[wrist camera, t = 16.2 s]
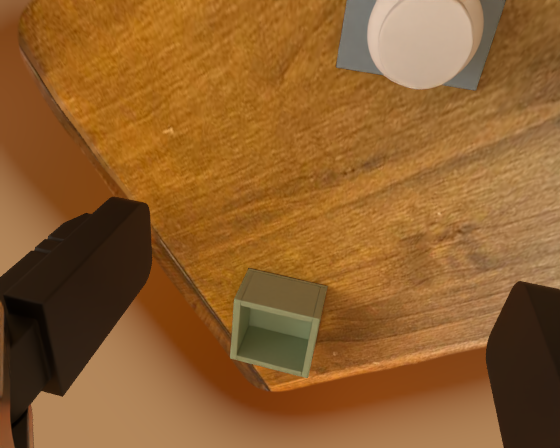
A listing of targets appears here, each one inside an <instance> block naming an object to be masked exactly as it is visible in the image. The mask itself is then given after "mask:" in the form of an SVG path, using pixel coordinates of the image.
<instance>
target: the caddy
mask: <svg viewBox="0 0 560 448" xmlns="http://www.w3.org/2000/svg"><path fill="white" fill-rule="evenodd" d="M327 287H328V286H325V285H320V284H316V283H311V282H307V281H303V280H298V279H294V278H290V277H285V276H281V275H277V274H272V273H268V272H263V271H259V270H255V269H250V268H248V271H247V273H246V275H245V277H244V279H243V281H242V284H241V286H240V288H239V290H238V292H237V294H236V296H235V298H234V309H233V324H232V338H231V352H230V358H231V359H235V360H236V359H237V360H238V361H242V362H246V363H250V364H254V365H258V366H262V367H266V368H270V369H274V370H277V371H281V372H285V373H289V374H293V375H297V376H302V377H305V378H308V376H309V371H310V367H311V362H312V358H313V353H314V349H315V344H316V340H317V335H318V330H319V325H320V321H321V316H322V311H323V306H324V301H325V297H326V292H327Z"/></svg>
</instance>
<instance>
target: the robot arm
mask: <svg viewBox="0 0 560 448" xmlns="http://www.w3.org/2000/svg"><path fill="white" fill-rule="evenodd" d="M151 264H152V246H151V226H150V211H149V207H148V205H147V204H146V203H143V202H138V201H134V200H129V199H124V198H119V197H111V198H109V199H108V200H107V201H106V202H105V203H104V204H103V205H102V206H100V207H99V208H98V209H97V210H96V211H95V212H94V213H93V214H88V213H85V214H83V215H81V216H78V217H76V218H74V219H72V220H69V221H67V222H65V223H63V224H62V225H61V226H60V227H59V228H58V229H56V230H55V231H54V232H53V233H51V234H50V235H49V236H48V239H45V240H43V241H42V242H41V243H40V244H39V245H38V246H37V247H35V250H34V251H30V252H29V253H28V254H27V255H26V256H25V257H23V258H22V259H21V260H20V261H19V262H18V263H16V264H15V265H14V266H13V267H12V268H10V269H9V270H8V271H7V272H6V273H5V274H3V275H2V276H1V277H0V448H34V437H33V414H32V408H31V403H32V402H33V400H34V399H35V398H36V397H37V395H38V394H39V393H40V392H41V391H44V392H47V393H51V394H55V395H59V396H62V397H63V396H64V394H65V393H66V391H67V390H68V389H69V388H70V386H71V385H72V383H73V382H74V381H75V379H76V378H77V376H78V375H79V374H80V372H81V371H82V370H83V368H84V367H85V366H86V364H87V363H88V361H89V360H90V359H91V357H92V356H93V355H94V353H95V352H96V351H97V349H98V348H99V346H100V345H101V344H102V342H103V341H104V340H105V338H106V337H107V336H108V334H109V333H110V331H111V330H112V329H113V327H114V326H115V325H116V323H117V322H118V320H119V319H120V318H121V316H122V315H123V314H124V312H125V311H126V310H127V308H128V307H129V305H130V304H131V302H132V301H133V300H134V298H135V297H136V296H137V294H138V293H139V292H140V290H141V289H142V288H143V286H144V285H145V283H146V281H147V279H148V277H149V274H150V270H151ZM486 364H487V369H488V374H489V379H490V383H491V389H492V393H493V398H494V403H495V407H496V413H497V417H498V422H499V427H500V432H501V436H502V441H503V446H504V448H560V290H559V289H556V288H551V287H546V286H542V285H537V284H532V283H527V282H522V281H519V282H517V283H516V284H515V285H514V286H513V288H512V290H511V292H510V294H509V296H508V298H507V300H506V302H505V304H504V306H503V308H502V310H501V313H500V315H499V317H498V319H497V321H496V323H495V325H494V327H493V329H492V331H491V334H490V336H489V339H488V343H487V349H486Z"/></svg>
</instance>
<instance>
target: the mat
mask: <svg viewBox="0 0 560 448" xmlns="http://www.w3.org/2000/svg"><path fill="white" fill-rule="evenodd" d="M376 1H377V0H347V4H346V10H345V16H344V22H343V28H342V34H341V40H340V46H339V52H338V58H337V64H336V67H337V68H343V69H349V70H355V71H361V72H367V73H373V74H379V75H383V74H382V73H381V72H380V70H379V69H378V68H377V67H376V65H375V63H374V62H373V60H372V57H371V55H370V52H369V48H368V41H367V29H368V23H369V18H370V15H371V12H372V10H373V7H374V5H375V3H376ZM505 2H506V0H480V3H481V6H482V10H483V18H484V27H483V34H482V38H481V41H480V44H479V47H478V49H477V51H476V53H475V55H474V56H473V58H472V59H471V61H470V62H469V63H468V64H467V66H466V67H465V68H464V69H463V70H462V71H461V72H459V73H458V74H457V75H456V76H455V77H453V78H452V79H451V80H449V81H448V82H446V83H444V84H442V85H445V86H451V87H457V88H463V89H469V90H476V89H477V86H478V83H479V80H480V77H481V74H482V71H483V68H484V65H485V62H486V59H487V56H488V53H489V50H490V47H491V44H492V41H493V38H494V35H495V32H496V29H497V26H498V23H499V20H500V17H501V14H502V11H503V8H504V5H505Z"/></svg>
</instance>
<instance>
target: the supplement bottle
mask: <svg viewBox="0 0 560 448" xmlns="http://www.w3.org/2000/svg"><path fill="white" fill-rule="evenodd" d="M483 27H484V18H483V10H482V6H481V3H480V0H377V1H376V3H375V5H374V7H373V10H372V12H371V15H370V18H369V23H368V29H367V41H368V48H369V52H370V55H371V57H372V60H373V62H374V63H375V65H376V67H377V68H378V69H379V70H380V72H381V73H382V74H383V75H384V76H386V77H387V78H388V79H390V80H391V81H393V82H395V83H397V84H399V85H402V86H405V87H408V88H412V89H430V88H434V87H437V86H440V85H442V84H444V83H446V82H448V81H449V80H451V79H452V78H453V77H455V76H456V75H457V74H458V73H459V72H461V71H462V70H463V69H464V68H465V67H466V66H467V64H468V63H469V62H470V61H471V59H472V58H473V56H474V55H475V53H476V51H477V49H478V47H479V44H480V41H481V38H482V34H483Z"/></svg>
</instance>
